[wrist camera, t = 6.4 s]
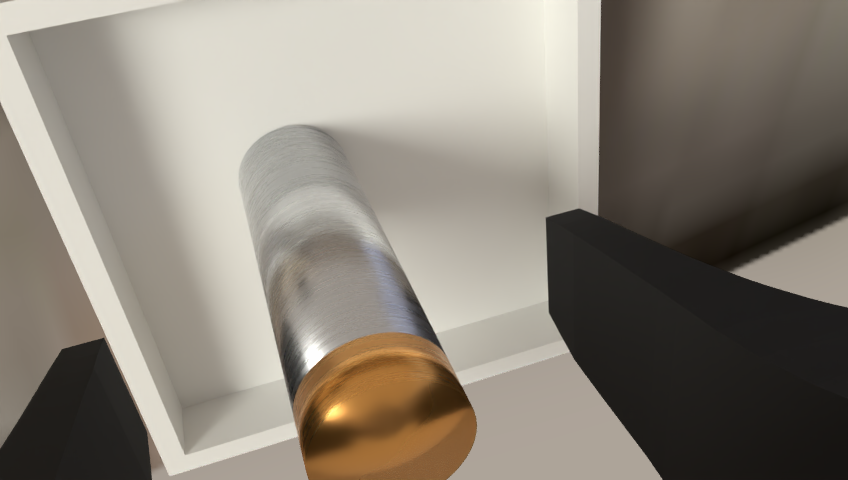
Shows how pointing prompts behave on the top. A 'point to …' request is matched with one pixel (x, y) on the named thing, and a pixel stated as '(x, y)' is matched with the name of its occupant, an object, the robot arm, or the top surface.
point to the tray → (318, 108)
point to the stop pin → (348, 321)
